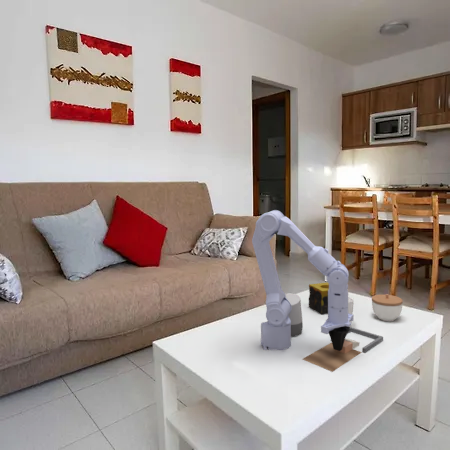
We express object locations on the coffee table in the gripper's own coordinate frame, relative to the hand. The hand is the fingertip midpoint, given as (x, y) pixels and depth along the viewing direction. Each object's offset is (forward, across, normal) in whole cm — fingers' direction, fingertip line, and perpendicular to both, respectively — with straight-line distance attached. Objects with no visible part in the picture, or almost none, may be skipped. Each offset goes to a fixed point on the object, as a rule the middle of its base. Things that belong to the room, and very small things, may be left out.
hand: (337, 349), depth 108 cm
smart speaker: (+3, +2, +20) cm, 20 cm away
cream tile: (+1, +7, 0) cm, 7 cm away
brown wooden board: (+2, -3, 0) cm, 4 cm away
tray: (+2, +11, 0) cm, 11 cm away
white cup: (+3, +23, +12) cm, 26 cm away
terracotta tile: (+1, +3, 0) cm, 3 cm away
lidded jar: (+3, +40, +4) cm, 41 cm away
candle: (+3, +33, +26) cm, 42 cm away
